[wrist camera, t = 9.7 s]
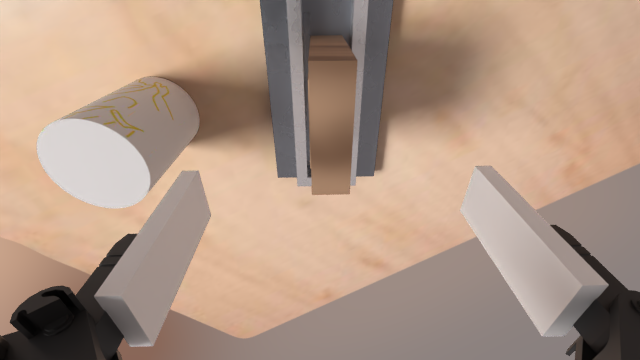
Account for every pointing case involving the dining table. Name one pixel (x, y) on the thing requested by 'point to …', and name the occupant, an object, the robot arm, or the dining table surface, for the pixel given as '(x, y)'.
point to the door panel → (331, 113)
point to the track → (292, 74)
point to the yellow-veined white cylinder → (119, 142)
